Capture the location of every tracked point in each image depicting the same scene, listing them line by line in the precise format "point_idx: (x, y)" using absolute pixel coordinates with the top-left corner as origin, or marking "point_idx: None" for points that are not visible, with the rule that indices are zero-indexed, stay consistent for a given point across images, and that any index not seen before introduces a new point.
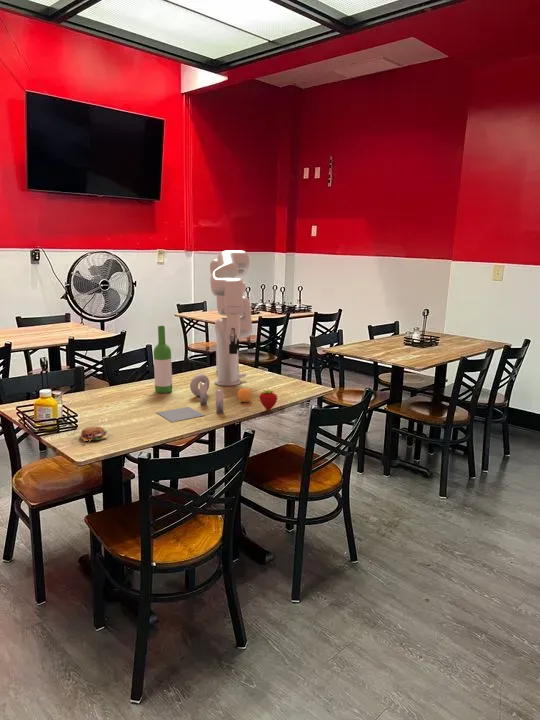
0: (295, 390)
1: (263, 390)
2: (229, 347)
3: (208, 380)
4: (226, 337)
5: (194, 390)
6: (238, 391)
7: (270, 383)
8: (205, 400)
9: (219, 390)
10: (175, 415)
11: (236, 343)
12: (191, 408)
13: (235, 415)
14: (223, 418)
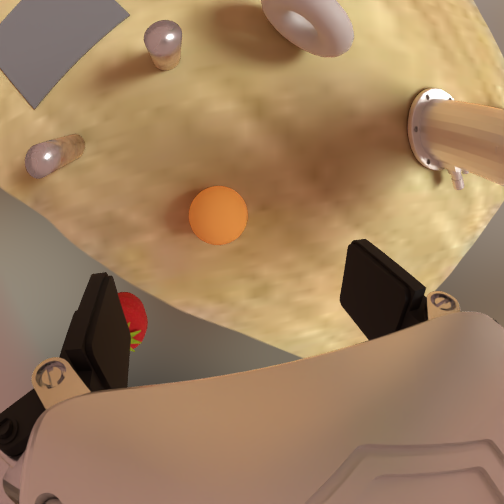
0: (342, 325)
1: (129, 324)
2: (76, 320)
3: (333, 50)
4: (50, 408)
5: (261, 3)
6: (220, 195)
7: (414, 253)
8: (155, 64)
9: (39, 160)
10: (32, 21)
11: (372, 320)
12: (105, 33)
13: (55, 209)
14: (22, 180)
